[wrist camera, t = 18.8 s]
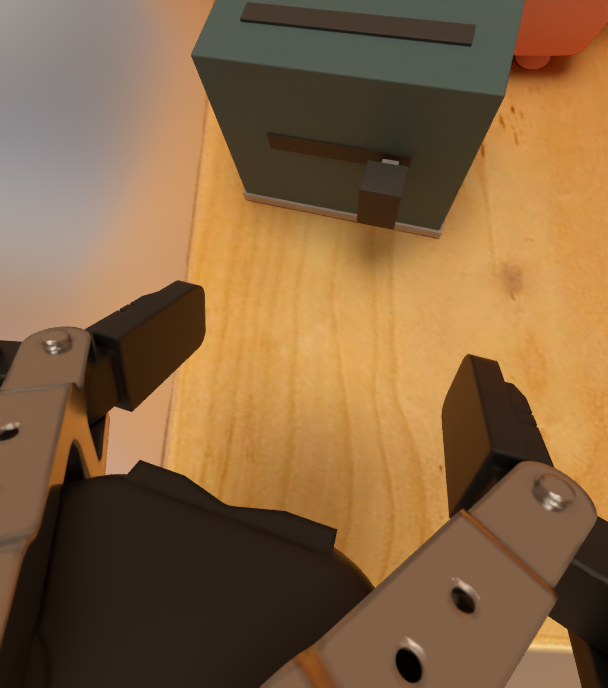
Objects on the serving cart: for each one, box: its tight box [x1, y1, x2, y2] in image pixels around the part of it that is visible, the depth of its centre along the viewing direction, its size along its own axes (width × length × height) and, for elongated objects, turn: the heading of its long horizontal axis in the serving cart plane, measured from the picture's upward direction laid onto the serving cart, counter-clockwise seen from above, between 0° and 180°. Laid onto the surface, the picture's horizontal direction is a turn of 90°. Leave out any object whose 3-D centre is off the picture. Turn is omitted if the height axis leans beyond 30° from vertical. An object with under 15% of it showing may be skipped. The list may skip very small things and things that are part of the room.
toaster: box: [191, 0, 525, 238], centre depth 24 cm, size 10×16×12 cm, turn 73°
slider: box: [357, 159, 410, 229], centre depth 21 cm, size 3×2×3 cm
